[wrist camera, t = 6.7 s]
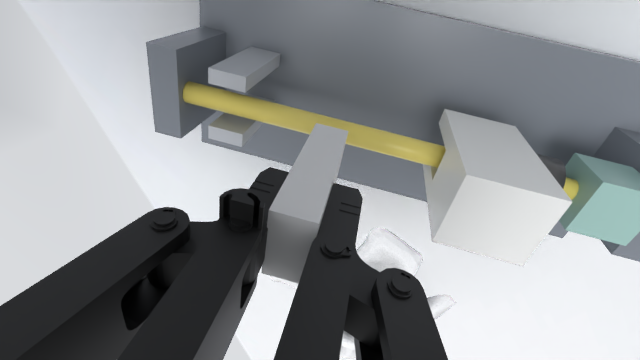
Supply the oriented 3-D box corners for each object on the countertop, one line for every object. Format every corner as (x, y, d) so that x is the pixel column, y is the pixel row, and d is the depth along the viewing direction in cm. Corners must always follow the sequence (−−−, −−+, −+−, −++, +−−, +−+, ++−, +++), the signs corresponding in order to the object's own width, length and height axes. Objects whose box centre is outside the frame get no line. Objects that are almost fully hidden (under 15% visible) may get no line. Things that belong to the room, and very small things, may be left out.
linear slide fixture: (209, 135, 27) (152, 183, 21) (208, -38, 21) (125, -42, 14) (556, 227, 25) (607, 311, 19) (678, 70, 19) (818, 118, 12)
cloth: (309, 355, 42) (297, 408, 37) (236, 247, 34) (208, 295, 29) (502, 344, 34) (521, 409, 29) (464, 199, 26) (479, 254, 21)
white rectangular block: (422, 162, 21) (432, 241, 15) (444, 108, 19) (466, 174, 13) (485, 178, 21) (523, 266, 14) (515, 126, 19) (572, 201, 12)
